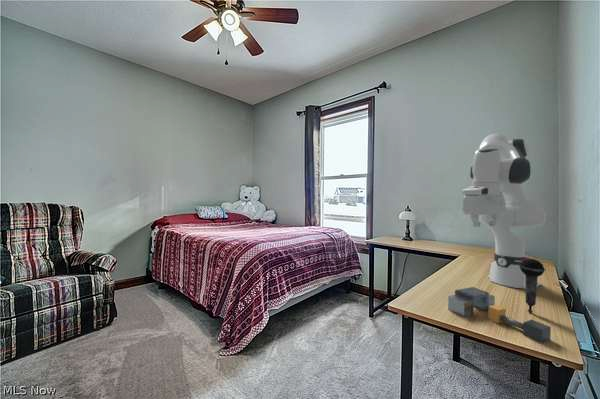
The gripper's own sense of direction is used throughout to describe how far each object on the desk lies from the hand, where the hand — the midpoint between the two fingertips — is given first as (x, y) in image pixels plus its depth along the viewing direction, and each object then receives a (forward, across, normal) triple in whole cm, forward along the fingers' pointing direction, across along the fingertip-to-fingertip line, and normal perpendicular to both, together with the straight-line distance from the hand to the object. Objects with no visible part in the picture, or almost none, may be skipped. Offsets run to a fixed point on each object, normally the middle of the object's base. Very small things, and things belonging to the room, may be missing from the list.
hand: (484, 226), depth 95 cm
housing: (+31, +7, 0) cm, 32 cm away
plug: (+31, +7, +15) cm, 35 cm away
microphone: (+31, -11, +10) cm, 35 cm away
